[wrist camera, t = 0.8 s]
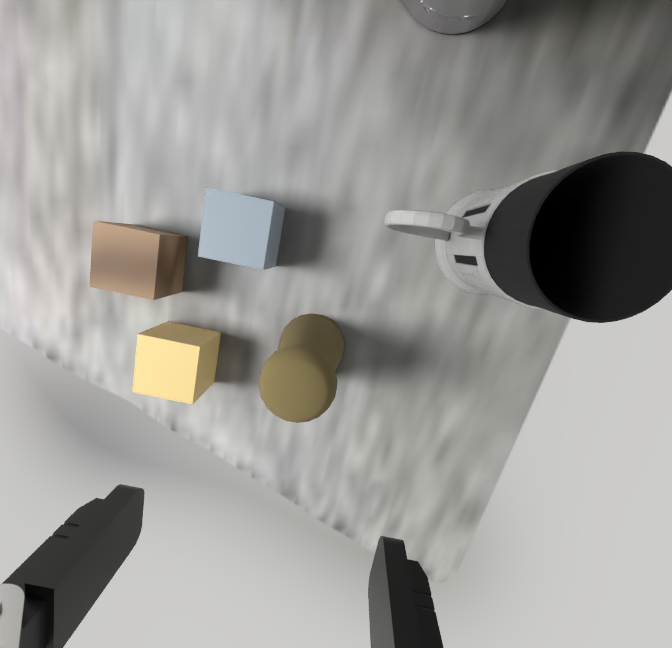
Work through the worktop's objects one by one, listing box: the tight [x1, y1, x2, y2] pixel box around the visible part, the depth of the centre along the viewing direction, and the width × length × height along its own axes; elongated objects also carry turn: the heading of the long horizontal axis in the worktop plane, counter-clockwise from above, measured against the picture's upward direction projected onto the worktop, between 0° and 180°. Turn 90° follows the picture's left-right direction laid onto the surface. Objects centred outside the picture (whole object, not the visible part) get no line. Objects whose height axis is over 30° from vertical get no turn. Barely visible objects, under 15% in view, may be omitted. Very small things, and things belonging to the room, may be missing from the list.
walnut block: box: [90, 221, 188, 300], centre depth 30 cm, size 5×5×5 cm
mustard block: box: [132, 321, 221, 404], centre depth 31 cm, size 5×5×5 cm
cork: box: [259, 314, 345, 423], centre depth 28 cm, size 6×6×11 cm
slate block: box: [198, 187, 286, 270], centre depth 29 cm, size 5×5×5 cm
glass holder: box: [384, 152, 672, 323], centre depth 24 cm, size 9×14×15 cm, turn 82°
